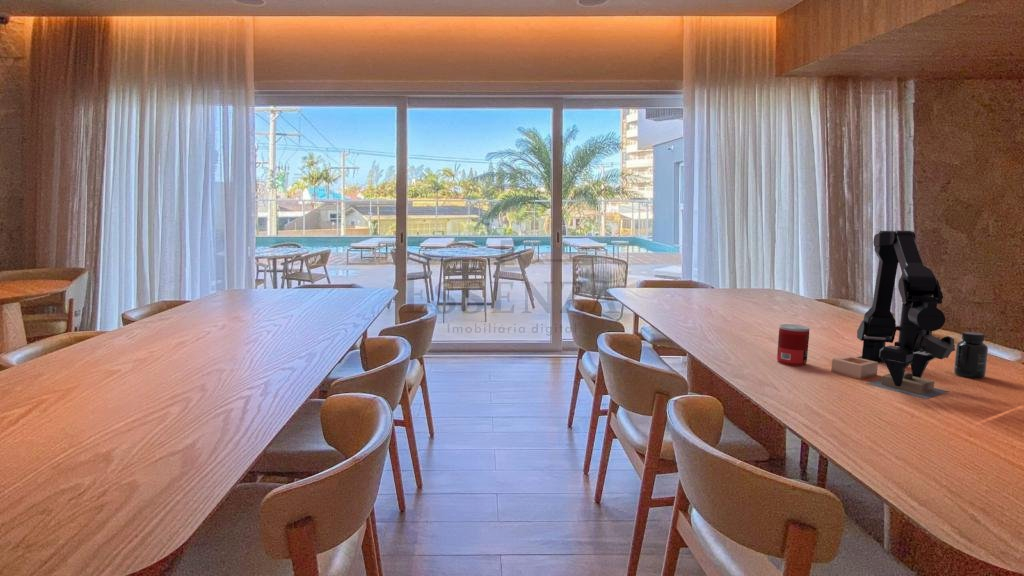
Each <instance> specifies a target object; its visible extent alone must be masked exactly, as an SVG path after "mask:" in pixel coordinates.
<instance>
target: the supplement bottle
mask: <svg viewBox="0 0 1024 576" xmlns="http://www.w3.org/2000/svg"><path fill="white" fill-rule="evenodd" d="M985 335H986V334H984V333H981V332H974V331H962V333H961V341H959V342H957V344H956V346H955V358H954V359H955V360H954V368H953V369H954V370H953V373H954V375H956V374H957V375H956V376H958V375H959V376H958V377H962V376H963V378H966V377H969V378H968V379H975V378H981V379H984V378H985V377H986V372H987V364H988V363H987V361H988V353H989V352H988V351H989V347H988V345H986V344H985V343H984V342H985V337H986V336H985Z"/></svg>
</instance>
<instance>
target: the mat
mask: <svg viewBox="0 0 1024 576" xmlns="http://www.w3.org/2000/svg"><path fill="white" fill-rule="evenodd" d="M865 384H866V385H869V386H874V387H877V388H881V389H886V390H889V391H893V392H897V393H900V394H904V395H908V396H912V397H916V398H918V399H919V398H920V399H925V400H928V399H932V398H934V397H937V396H940V395H944V394H947V393H950V392H951V391H950V390H949V391H948V390H945V389H942V388H941V389H940V388H936V387H934V389H933V391H930V392H926V393H923V394H917V393H913V392H909V391H905V390H901V389H897V388H893V387H889V386H885V385H882V378H881V379H877V380H875V381H869V382H867V383H865Z"/></svg>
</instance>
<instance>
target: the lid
mask: <svg viewBox="0 0 1024 576" xmlns="http://www.w3.org/2000/svg"><path fill="white" fill-rule="evenodd" d="M881 379H882V385H885V386H889V387H893V388H897V389H901V390H905V391H909V392H913V393H917V394H923V393H926V392H930V391H933V389H934V388H935V380H930V379H926V378H922V377H921V378H919V377H914V376H913V374H912V372H911V373H910V372H905V373H904V377H903V380H902V384H901V386H900V387H899V386H895V384H894V381H893V379H892V377H891V374H890V373H887V374H884V375H882V377H881Z"/></svg>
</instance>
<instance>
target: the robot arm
mask: <svg viewBox="0 0 1024 576" xmlns="http://www.w3.org/2000/svg"><path fill="white" fill-rule="evenodd" d="M873 247H874V252H875V254H876V256H877V258H878V267H877V272H876V273H877V274H876V278H875V279H876V280H875V286H874V293H873V298H872V305H871V307H870V308H869V309H868V310H867V311H866V312H865V313H864V316H863V320H862V321H861V322H860V325H859V327H858V328H857V331H856V337H857V339H858V340H860V341H861V342H863V343H862V349H861V350H862V351H861V355H860V356H856V357H857V358H862V359H866V360H871V361H875V362H878V364H880V363H884V364H885V367H886V368H887V369H888V371H889V372H888V373H889V374H891V377H892V379H893V381H894V384H895V386H899V387H900V386H901V384H902V380H903V377H904V373H906V370H907V367H908V366H910V369H911V374H913V376H914V377H919V378H922V376H923V375H924V372H925V370H926V369H927V366H928V365H929V363H930V362H931V361H933V360H934V359H937V360H938V359H939V360H944V359H947V358H949V356H950V355H951V353H952V352H956V345H955V338H953V337H951V336H949V335H947V336H944V337H942V338H940V337H939V336H938V337H936V336H935V335H933V332H936V331H938V330H940V329H941V328H942V327H944V325H945V324H946V323H945V322H946V317H945V314H944V312H943V311H942V310H941V309H939V308H938V305H939V304H940V305H942V304H943V298H944V294H943V291H942V288H941V284H940V282H939V280H938V279H937V277H936V275H935V273H934V272H933V270H932V269H930V268H928V267H927V266H925V265H924V263H923V259H922V256H921V254H920V251H919V248H918V245H917V243H916V233H915V232H914V231H912V230H880V231H879V232H878V233H876V234H875V235H874V236H873ZM898 265H899V267H900V270H901V275H900V277H899V280H898V285H897V287H898V292H899V295H900V297H901V302H902V304H901V312H900V313H901V314H900V323H899V325H897V324H896V323H897V322H896V319H895V318H894V316H893V313H892V312H891V309H892V301H893V295H894V289H895V283H896V278H897V271H898ZM896 325H897V326H896ZM897 331H899V332H898V341H895V338H896V337H895V336H896V333H897ZM887 343H891V344H893V343H894V345H887V346H886V344H887Z"/></svg>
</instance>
